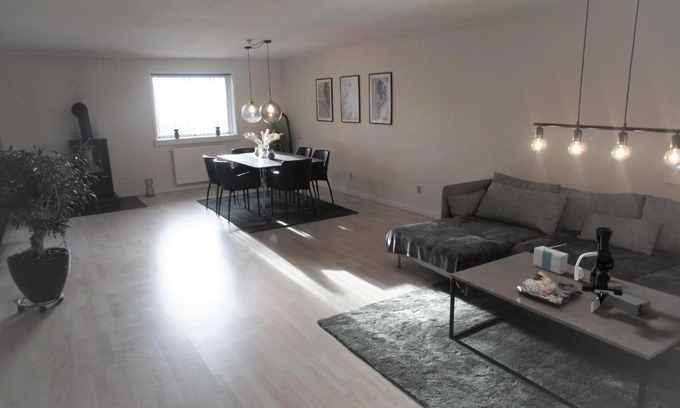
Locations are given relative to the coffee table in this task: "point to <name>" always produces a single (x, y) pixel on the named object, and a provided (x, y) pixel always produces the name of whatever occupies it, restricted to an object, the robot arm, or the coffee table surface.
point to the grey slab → (628, 303)
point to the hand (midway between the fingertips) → (600, 304)
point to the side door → (595, 304)
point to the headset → (578, 270)
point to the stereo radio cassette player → (550, 259)
